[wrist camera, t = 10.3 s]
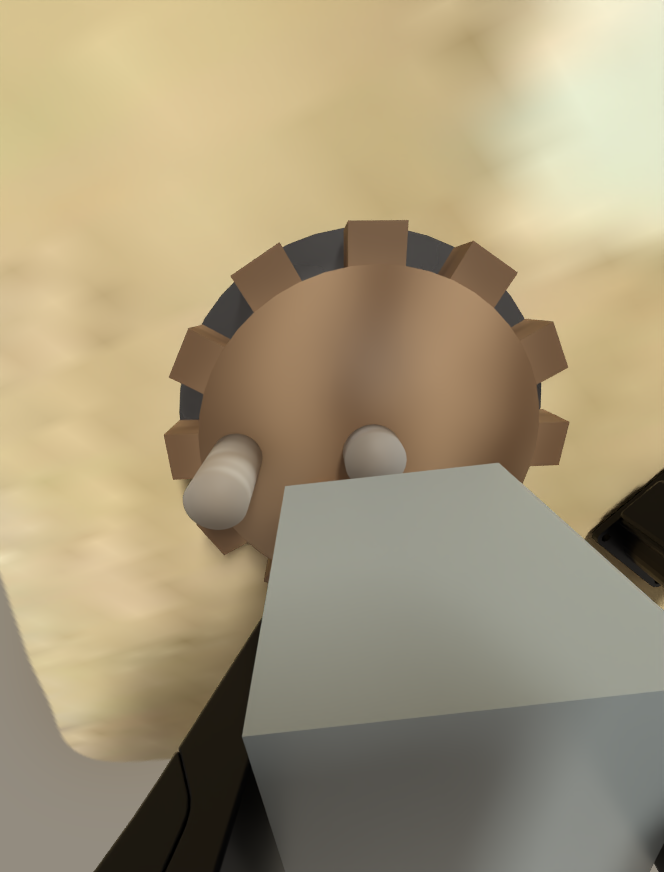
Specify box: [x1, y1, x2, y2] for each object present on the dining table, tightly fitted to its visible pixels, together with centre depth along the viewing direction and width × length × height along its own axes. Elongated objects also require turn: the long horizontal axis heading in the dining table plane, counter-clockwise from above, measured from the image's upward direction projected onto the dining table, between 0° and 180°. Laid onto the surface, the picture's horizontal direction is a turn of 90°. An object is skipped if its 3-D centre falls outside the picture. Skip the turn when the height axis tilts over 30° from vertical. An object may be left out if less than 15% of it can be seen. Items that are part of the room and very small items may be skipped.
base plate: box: [179, 228, 541, 420], centre depth 17 cm, size 17×17×1 cm
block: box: [242, 463, 664, 872], centre depth 7 cm, size 5×5×5 cm
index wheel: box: [164, 220, 569, 583], centre depth 14 cm, size 17×17×6 cm
